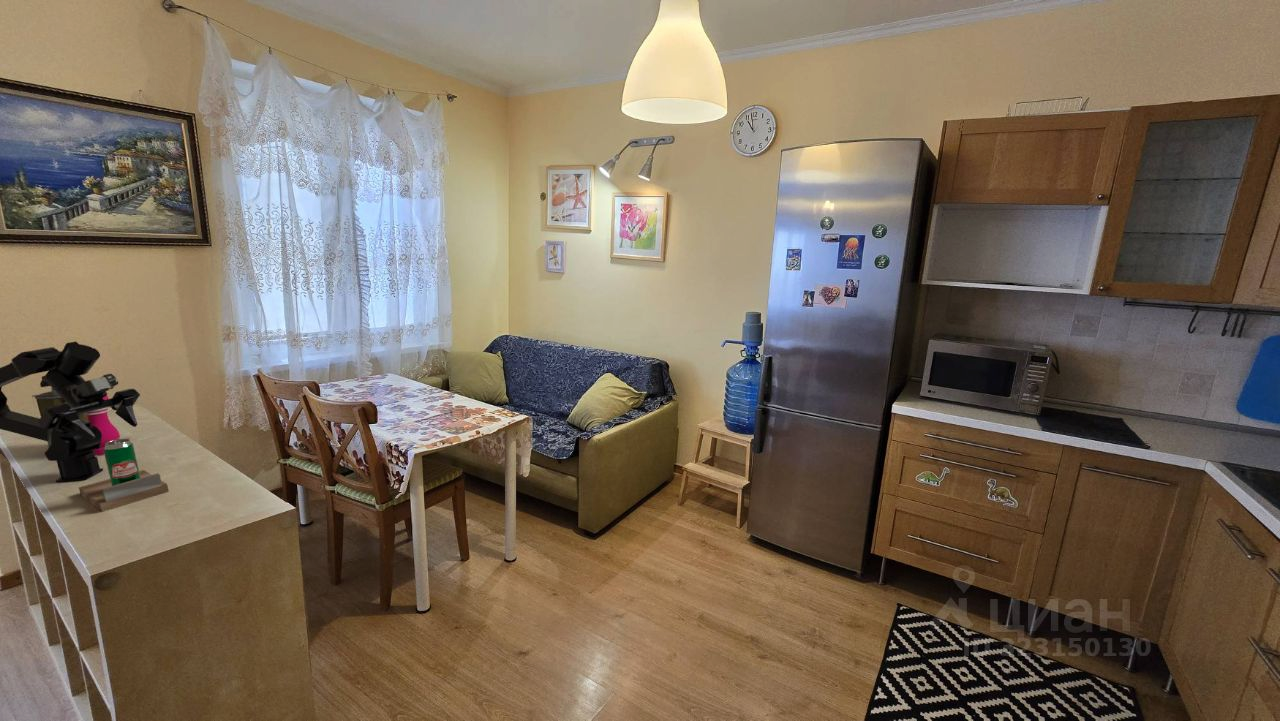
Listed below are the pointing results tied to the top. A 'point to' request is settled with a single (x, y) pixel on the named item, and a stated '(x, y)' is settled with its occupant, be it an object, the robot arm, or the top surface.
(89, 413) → the pepper mill
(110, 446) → the soda can
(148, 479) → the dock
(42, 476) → the top surface
